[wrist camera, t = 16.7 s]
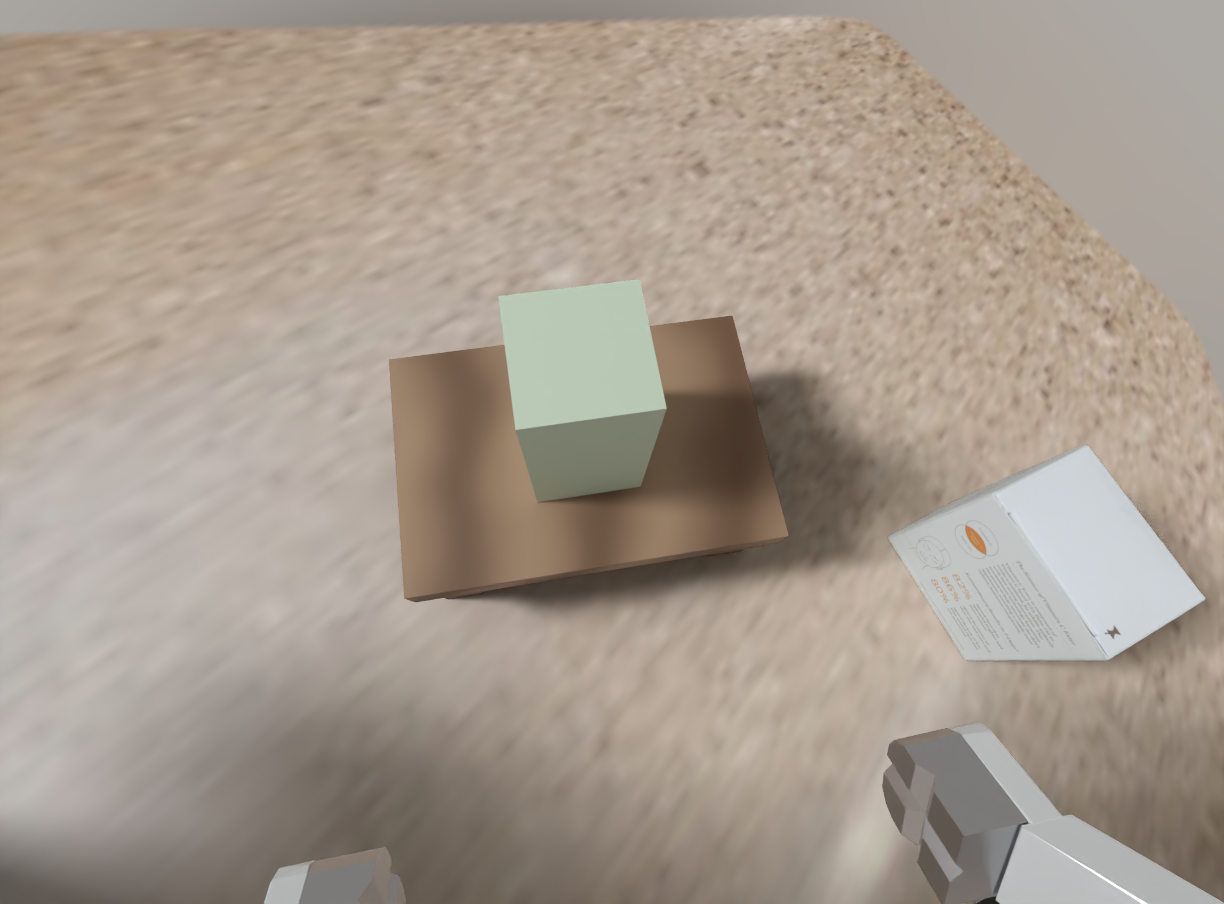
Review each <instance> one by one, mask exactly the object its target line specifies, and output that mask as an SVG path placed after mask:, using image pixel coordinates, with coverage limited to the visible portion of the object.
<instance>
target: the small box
mask: <svg viewBox="0 0 1224 904" xmlns="http://www.w3.org/2000/svg"><path fill="white" fill-rule="evenodd" d="M888 539H889V541H890V542H891V544H892V545H893V547H894V548H895V550H896V552H897V553H898V555H899V556H900V558H901V559H902V561H903V563H904V564H905V566H906V567H907V569H908V570H909V572H910V574H911V575H912V577H913V578H914V580H915V582H916V583H917V585H918V586H919V588H920V589H921V591H922V593H923V594H924V596H925V597H926V599H927V600H928V602H929V604H930V605H931V607H932V608H933V610H934V612H935V613H936V615H937V616H938V618H939V619H940V621H941V622H942V624H943V626H944V627H945V629H946V630H947V632H948V633H949V635H950V637H951V638H952V640H953V641H954V643H955V645H956V646H957V648H958V649H959V651H960V652H961V654H962V656H963V657H964V659H965V660H967V661H1013V660H1014V661H1019V660H1022V661H1107V660H1110V659H1112V658H1113V657H1115V656H1116V655H1118V654H1119V653H1121V652H1123V651H1124V650H1126V649H1127V648H1129V647H1131V646H1132V645H1134V644H1135V643H1137V642H1139V641H1140V640H1142V639H1143V638H1145V637H1147V636H1148V635H1150V634H1151V633H1153V632H1155V631H1156V630H1158V629H1159V628H1161V627H1163V626H1164V625H1166V624H1167V623H1169V622H1171V621H1172V620H1174V619H1176V618H1177V617H1179V616H1180V615H1182V614H1184V613H1185V612H1187V611H1188V610H1190V609H1191V608H1193V607H1195V606H1196V605H1198V604H1199V603H1201V602H1203V601H1204V600H1205V599H1206V597H1205V596H1204V595H1203V594H1202V593H1201V591H1200V590H1199V589H1198V587H1197V586H1196V585H1195V584H1194V582H1193V581H1192V580H1191V578H1190V577H1189V576H1188V574H1187V573H1186V572H1185V571H1184V569H1183V568H1182V567H1181V565H1180V564H1179V563H1178V561H1177V560H1176V559H1175V558H1174V556H1173V555H1172V554H1171V552H1170V551H1169V550H1168V548H1167V547H1166V546H1165V545H1164V543H1163V542H1162V541H1161V539H1160V538H1159V537H1158V535H1157V534H1156V533H1155V532H1154V530H1153V529H1152V528H1151V526H1150V525H1149V524H1148V522H1147V521H1146V520H1145V519H1144V517H1143V516H1142V514H1141V513H1140V512H1139V511H1138V509H1137V508H1136V507H1135V506H1134V504H1133V503H1132V501H1131V500H1130V499H1129V498H1128V496H1127V495H1126V494H1125V492H1124V491H1123V490H1122V488H1121V487H1120V486H1119V485H1118V483H1117V482H1116V481H1115V479H1114V478H1113V477H1112V475H1111V474H1110V473H1109V471H1108V470H1107V469H1106V468H1105V466H1104V465H1103V464H1102V462H1101V461H1100V460H1099V458H1098V457H1097V456H1096V454H1095V453H1094V452H1093V450H1092V449H1091V447H1090V446H1089V445H1082V446H1079V447H1077V448H1075V449H1072V450H1070V451H1068V452H1065V453H1063V454H1061V455H1058V456H1056V457H1054V458H1052V459H1049V460H1047V461H1045V462H1042V463H1040V464H1038V465H1035V466H1033V467H1031V468H1028V469H1026V470H1023V471H1021V472H1018V473H1016V474H1013V475H1011V476H1009V477H1007V478H1004V479H1002V480H1000V481H998V482H996V483H993V484H991V485H989V486H987V487H984V488H982V489H980V490H978V491H975V492H973V493H971V494H969V495H966V496H964V497H962V498H960V499H958V500H955V501H953V502H951V503H949V504H947V505H945V506H943V507H941V508H940V509H938V510H936V511H934V512H932V513H930V514H928V515H926V516H924V517H923V518H921V519H919V520H917V521H915V522H913V523H912V524H910V525H908V526H906V527H904V528H902V529H901V530H899V531H897V532H895V533H893V534H891V535H890V536H889V537H888Z"/></svg>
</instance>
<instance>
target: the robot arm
mask: <svg viewBox="0 0 1224 904" xmlns="http://www.w3.org/2000/svg"><path fill="white" fill-rule="evenodd" d="M887 755H888V757H889V759H890V760H891V762H892V765H891V766H890V767H889V768H888V769H887V770H886V771H885V772H884V776H883V785H882V787H883V792H884V796H885V801H886V805H887V807H888V810H889V812H890V814H891V817H892V819H893V821H894V822H895V824H896V826H897V828H898V830H899V831H900V833H901V834H902V835H903V836H905V837H906V838H908V839H909V840H910V841H912V842H913V843H915V844H916V845H918V857H917V863H918V864H919V866H920V868H921V870H922V871H923V873H924V875H925V876H926V878H927V880H928V882H929V883H930V885H931V887H932V888H933V890H934V892H935V894H936V895H937V897H938V899H939V900H940V902H941V904H960V903H965V902H970V901H975V900H980V899H985V898H990V897H995V896H997V897H996V901H998V902H999V903H1000V904H1224V902H1222V901H1220V900H1218V899H1217V898H1215V897H1213V896H1212V895H1210V894H1208V893H1206V892H1205V891H1203V890H1201V889H1200V888H1198V887H1196V886H1194V885H1193V884H1191V883H1189V882H1187V881H1186V880H1184V879H1182V878H1181V877H1179V876H1177V875H1175V874H1174V873H1172V872H1170V871H1168V870H1167V869H1165V868H1163V867H1162V866H1160V865H1158V864H1156V863H1155V862H1153V861H1151V860H1149V859H1148V858H1146V857H1144V856H1143V855H1141V854H1139V853H1137V852H1136V851H1134V850H1132V849H1130V848H1129V847H1127V846H1125V845H1124V844H1122V843H1120V842H1118V841H1117V840H1115V839H1113V838H1112V837H1110V836H1108V835H1106V834H1105V833H1103V832H1101V831H1099V830H1098V829H1096V828H1094V827H1093V826H1091V825H1089V824H1087V823H1086V822H1084V821H1082V820H1080V819H1079V818H1077V817H1075V816H1074V815H1072V814H1070V815H1064V816H1062V815H1061V813H1060V812H1059V811H1058V810H1057V809H1056V807H1055V806H1054V805H1053V804H1052V803H1051V802H1050V800H1049V799H1048V798H1047V797H1046V796H1045V794H1044V793H1043V792H1042V791H1041V790H1040V788H1039V787H1038V786H1037V785H1036V784H1035V782H1034V781H1033V780H1032V779H1031V778H1030V777H1029V775H1028V774H1027V773H1026V772H1025V771H1024V769H1023V768H1022V767H1021V766H1020V765H1019V763H1018V762H1017V761H1016V760H1015V759H1014V757H1013V756H1012V755H1011V754H1010V753H1009V752H1008V750H1007V749H1006V748H1005V747H1004V746H1003V744H1002V743H1001V742H1000V741H999V740H998V738H997V737H996V736H995V735H994V734H993V732H992V731H991V730H990V729H989V728H988V727H986V726H985V725H983V724H982V723H971V724H967V725H962V726H958V727H953V728H945V729H941V730H936V731H932V732H928V733H923V734H919V735H915V736H910V737H906V738H902V739H897V740H894V741H893V742H891V743H890V744H889V748H888V753H887ZM391 862H392V858H391V856H390V854H389V852H388V850H387V848H386V847H381V848H376V849H371V850H366V851H361V852H356V853H351V854H347V855H342V856H337V857H332V858H327V859H322V860H314V861H309V862H305V863H300V864H295V865H291V866H286V867H282V868H279V869H278V871H277V873H276V874H275V876H274V878H273V879H272V881H271V883H270V886H269V889H268V892H267V895H266V898H265V901H264V904H406V899H405V893H404V888H403V884H402V881H401V879H400V876H398V875H396V874H394V873H392V872H390V869H391Z"/></svg>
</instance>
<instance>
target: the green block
mask: <svg viewBox="0 0 1224 904" xmlns="http://www.w3.org/2000/svg"><path fill="white" fill-rule="evenodd" d="M498 297H499V305H500V313H501V321H502V329H503V336H504V344H505V352H506V360H507V367H508V375H509V383H510V391H511V399H512V406H513V414H514V422H515V430H516V433H517V437H518V440H519V443H520V446H521V450H522V453H523V456H524V460H525V463H526V466H527V470H528V473H529V476H530V479H531V483H532V486H533V489H534V493H535V496H536V499H537V502H544V501H550V500H557V499H563V498H570V497H577V496H583V495H590V494H596V493H603V492H609V491H616V490H622V489H629V488H636V487H641V484H642V481H643V478H644V475H645V472H646V469H647V466H648V463H649V460H650V457H651V454H652V451H653V448H654V445H655V442H656V439H657V436H658V433H659V430H660V427H661V424H662V421H663V418H664V415H665V412H666V409H667V408H666V403H665V398H664V393H663V388H662V384H661V379H660V374H659V369H658V365H657V360H656V355H655V350H654V345H653V341H652V336H651V331H650V326H649V321H648V317H647V312H646V307H645V302H644V298H643V293H642V288H641V283H640V279H636V280H628V281H620V282H612V283H604V284H595V285H587V286H579V287H571V288H562V289H554V290H546V291H538V292H529V293H521V294H513V295H505V296H498Z"/></svg>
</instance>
